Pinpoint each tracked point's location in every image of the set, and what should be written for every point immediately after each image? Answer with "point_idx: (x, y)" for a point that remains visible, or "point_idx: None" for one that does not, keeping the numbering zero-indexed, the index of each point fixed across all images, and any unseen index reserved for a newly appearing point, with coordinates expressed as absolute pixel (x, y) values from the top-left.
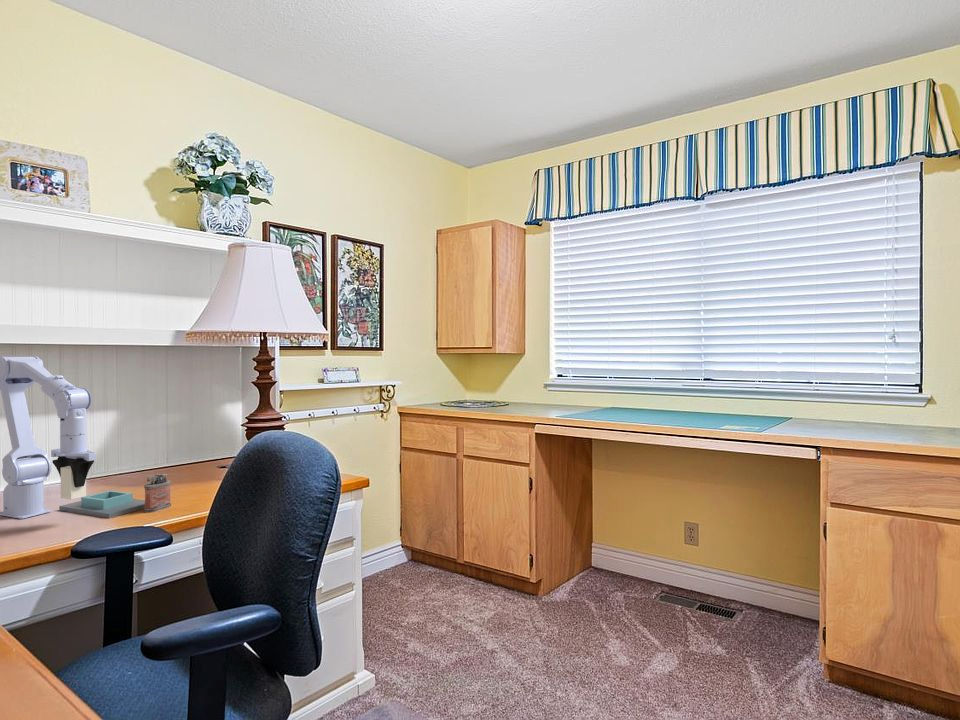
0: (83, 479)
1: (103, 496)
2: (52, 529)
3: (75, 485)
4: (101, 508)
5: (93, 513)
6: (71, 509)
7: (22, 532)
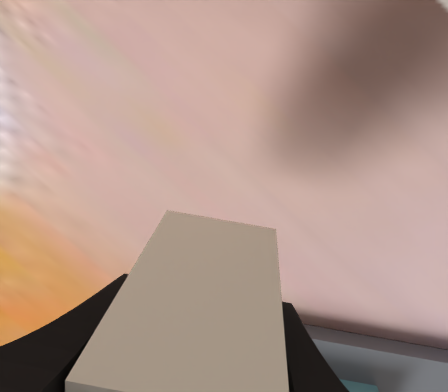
0: None
1: None
2: (244, 101)
3: (121, 278)
4: None
5: None
6: (395, 349)
7: (354, 16)
